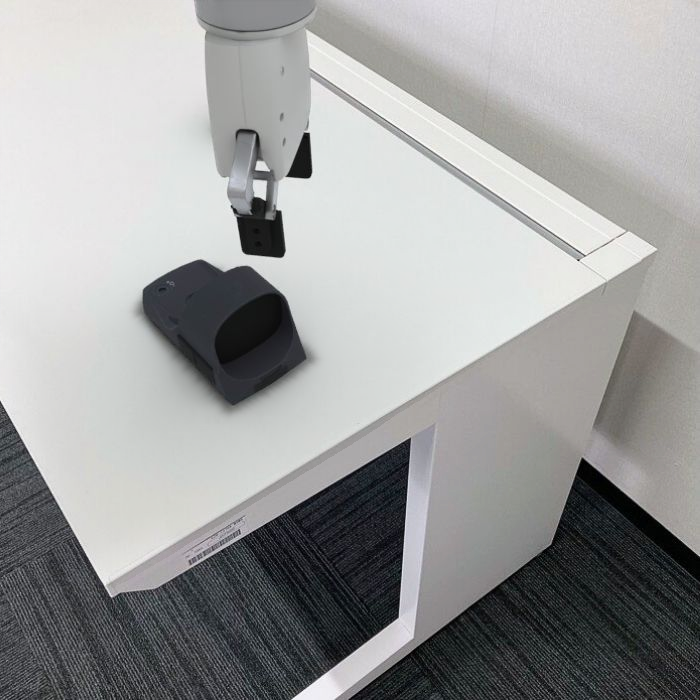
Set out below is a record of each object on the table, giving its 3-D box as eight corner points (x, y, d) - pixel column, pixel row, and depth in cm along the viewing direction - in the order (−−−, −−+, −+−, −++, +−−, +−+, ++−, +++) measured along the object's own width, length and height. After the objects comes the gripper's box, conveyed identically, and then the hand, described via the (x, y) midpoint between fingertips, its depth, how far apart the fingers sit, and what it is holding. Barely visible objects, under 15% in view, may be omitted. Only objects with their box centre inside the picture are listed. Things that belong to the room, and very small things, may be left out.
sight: (206, 267, 85) (190, 193, 77) (308, 359, 75) (301, 286, 68) (133, 306, 81) (109, 232, 73) (231, 409, 71) (214, 336, 64)
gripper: (233, -68, 53) (259, 146, 66) (147, 54, 41) (200, 283, 54) (339, -64, 52) (346, 153, 65) (282, 63, 41) (303, 294, 53)
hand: (279, 212), depth 59 cm, fingers open, 9 cm apart
